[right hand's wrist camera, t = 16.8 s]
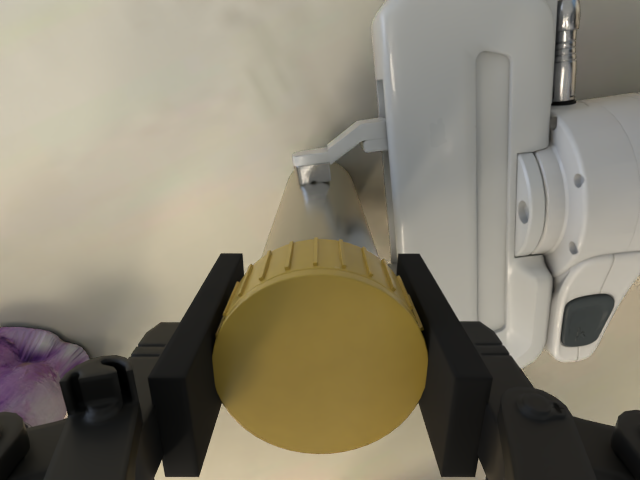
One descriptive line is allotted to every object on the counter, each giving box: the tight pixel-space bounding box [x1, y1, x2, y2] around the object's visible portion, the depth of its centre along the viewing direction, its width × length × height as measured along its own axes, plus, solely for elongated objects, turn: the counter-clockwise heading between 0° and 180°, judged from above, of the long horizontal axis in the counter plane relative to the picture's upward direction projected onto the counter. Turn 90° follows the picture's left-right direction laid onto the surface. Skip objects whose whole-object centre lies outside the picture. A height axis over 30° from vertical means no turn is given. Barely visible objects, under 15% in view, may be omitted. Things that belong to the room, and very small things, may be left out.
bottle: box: [261, 162, 379, 258], centre depth 19 cm, size 5×5×18 cm
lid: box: [212, 237, 428, 454], centre depth 12 cm, size 6×6×2 cm
